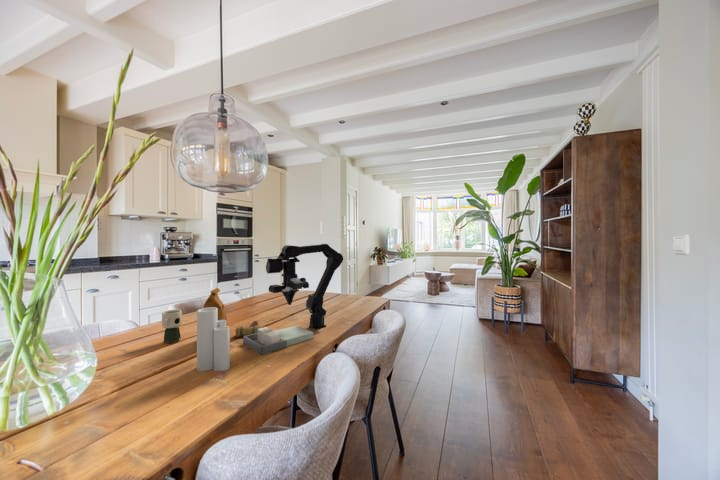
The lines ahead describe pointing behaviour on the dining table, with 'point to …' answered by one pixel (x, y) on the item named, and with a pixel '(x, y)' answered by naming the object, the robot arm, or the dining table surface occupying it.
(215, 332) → the vase
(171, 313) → the character mug
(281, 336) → the board
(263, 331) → the white square block
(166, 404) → the dining table surface
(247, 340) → the tray
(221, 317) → the coffee package
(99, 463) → the dining table surface
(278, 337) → the light grey block
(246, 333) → the gavel
